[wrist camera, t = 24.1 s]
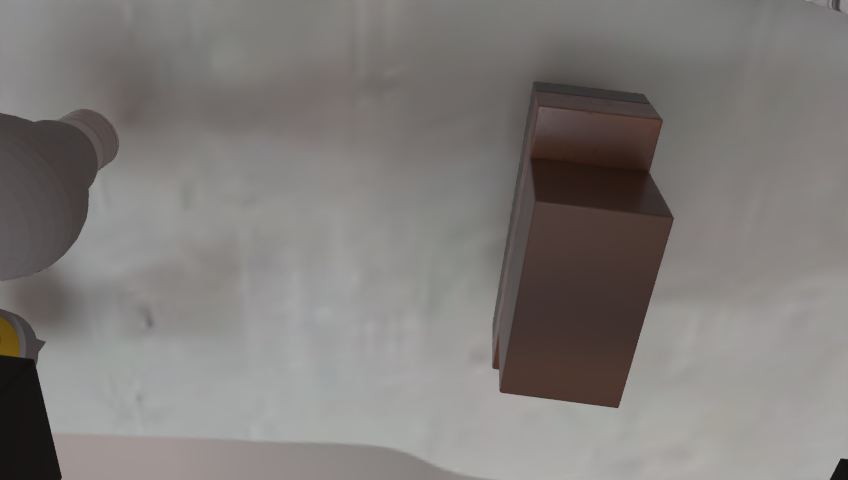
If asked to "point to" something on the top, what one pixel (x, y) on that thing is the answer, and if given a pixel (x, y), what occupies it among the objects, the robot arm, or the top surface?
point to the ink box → (833, 4)
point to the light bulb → (47, 185)
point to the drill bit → (18, 337)
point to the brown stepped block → (579, 246)
